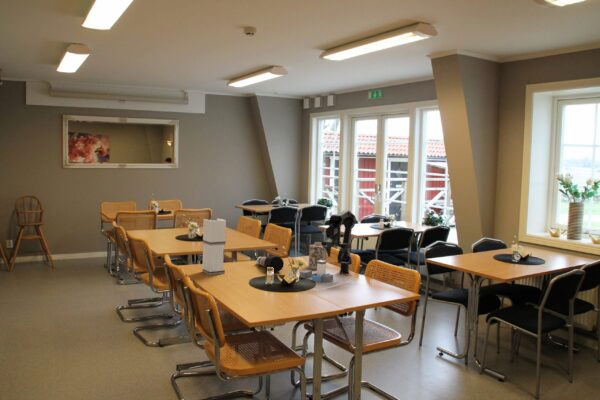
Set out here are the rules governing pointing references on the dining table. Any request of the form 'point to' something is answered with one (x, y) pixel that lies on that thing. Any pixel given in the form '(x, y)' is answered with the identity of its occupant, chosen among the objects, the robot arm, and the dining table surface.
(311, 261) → the decorative jar
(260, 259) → the black bottle
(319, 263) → the plug
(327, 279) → the grey compartment tray
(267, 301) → the dining table surface
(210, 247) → the white stacked pillar
